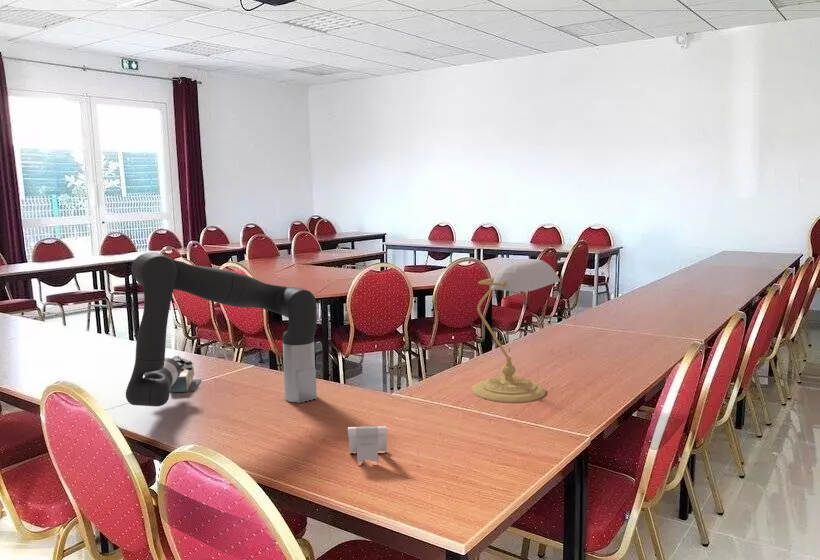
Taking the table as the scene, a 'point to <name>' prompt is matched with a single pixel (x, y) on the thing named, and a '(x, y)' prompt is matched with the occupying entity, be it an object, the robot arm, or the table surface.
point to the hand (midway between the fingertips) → (177, 359)
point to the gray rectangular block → (194, 385)
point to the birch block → (183, 381)
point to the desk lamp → (516, 280)
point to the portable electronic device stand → (367, 442)
